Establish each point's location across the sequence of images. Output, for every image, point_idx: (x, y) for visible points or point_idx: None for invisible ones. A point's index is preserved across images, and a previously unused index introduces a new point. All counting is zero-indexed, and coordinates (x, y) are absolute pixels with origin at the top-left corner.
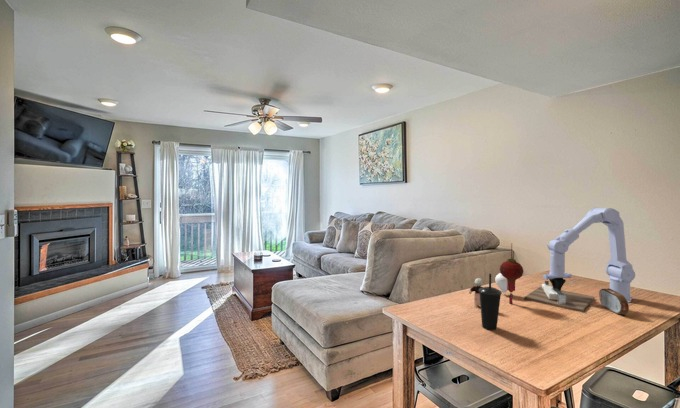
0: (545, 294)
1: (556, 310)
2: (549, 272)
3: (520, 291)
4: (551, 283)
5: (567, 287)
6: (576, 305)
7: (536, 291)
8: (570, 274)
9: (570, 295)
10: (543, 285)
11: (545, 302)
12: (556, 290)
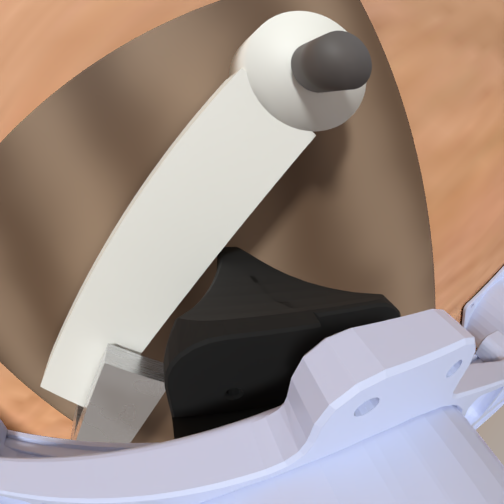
0: (115, 216)
1: (34, 423)
2: (394, 384)
3: (16, 19)
4: (205, 296)
5: (498, 90)
6: (166, 435)
7: (104, 89)
8: (489, 413)
9: (343, 281)
10: (245, 62)
11: (10, 366)
12: (109, 418)
